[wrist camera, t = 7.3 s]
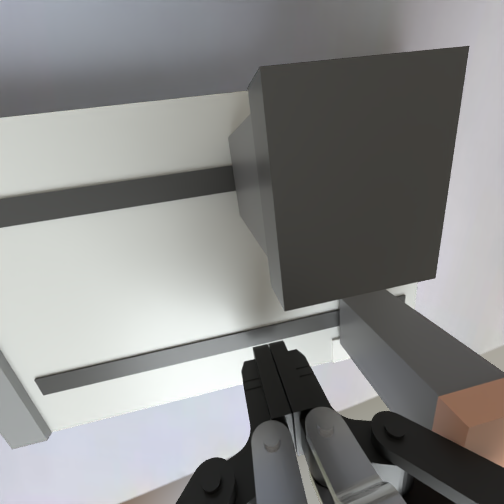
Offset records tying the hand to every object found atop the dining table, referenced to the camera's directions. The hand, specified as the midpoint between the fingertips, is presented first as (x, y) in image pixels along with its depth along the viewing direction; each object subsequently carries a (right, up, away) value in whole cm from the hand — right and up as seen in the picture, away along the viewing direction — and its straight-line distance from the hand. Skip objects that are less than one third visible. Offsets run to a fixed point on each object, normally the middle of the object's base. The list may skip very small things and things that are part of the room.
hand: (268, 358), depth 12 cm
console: (-3, +5, +2) cm, 6 cm away
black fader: (0, +8, -2) cm, 8 cm away
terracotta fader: (+5, +2, +2) cm, 6 cm away
